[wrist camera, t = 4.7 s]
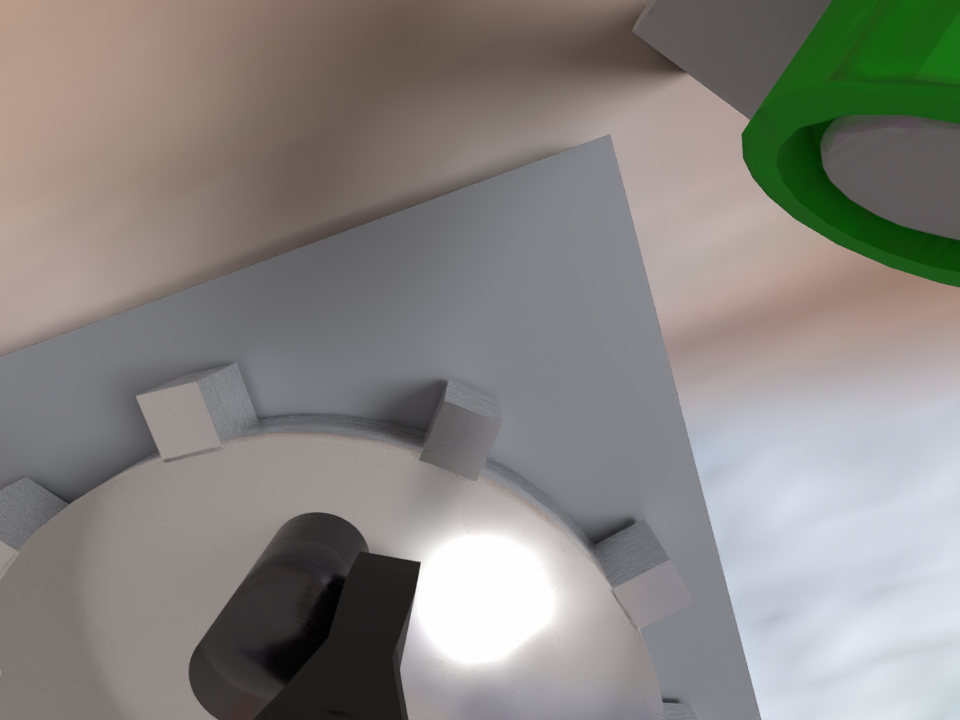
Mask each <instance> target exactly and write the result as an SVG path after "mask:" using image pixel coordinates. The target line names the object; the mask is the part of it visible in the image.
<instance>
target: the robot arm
mask: <svg viewBox="0 0 960 720" xmlns="http://www.w3.org/2000/svg"><path fill="white" fill-rule="evenodd" d="M420 565H421V562H418V561H412V560H407V559H401V558H396V557H390V556H384V555H379V554H373V553H367V552H362V551H360V552H359V554H358V556H357V557H356V559H355V561H354V563H353V565H352V566H351V568H350V570H349V572H348V574H347V576H346V579H345V583H344V586H343V589H342V593H341V596H340V599H339V603H338V606H337V609H336V613H335V616H334V619H333V623H332V626H331V629H330V633H329V636H328V638H327V639H326V640H325V642H324V643H323V644H322V645H321V646H320V648H319V649H318V650H317V651H316V652H315V653H314V654H313V655H312V657H311V658H310V659H309V660H308V661H307V662H306V663H305V664H304V666H303V667H302V668H301V669H300V670H299V671H298V672H297V673H296V675H295V676H294V677H293V678H292V679H291V680H290V681H289V682H288V684H287V685H286V686H285V687H284V688H283V689H282V690H281V691H280V692H279V693H278V694H277V695H276V696H275V697H274V699H273V700H272V701H271V702H270V703H269V704H268V705H267V706H266V707H265V708H264V709H263V710H262V711H261V712H260V713H259V714H258V715H257V716H256V717H255V718H254V719H253V720H409V719H408V714H407V708H406V703H405V697H404V692H403V686H402V680H401V673H400V667H401V662H402V657H403V652H404V647H405V642H406V637H407V632H408V627H409V622H410V617H411V612H412V607H413V602H414V597H415V592H416V587H417V582H418V576H419V571H420Z"/></svg>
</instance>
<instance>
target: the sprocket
mask: <svg viewBox="0 0 960 720" xmlns="http://www.w3.org/2000/svg"><path fill="white" fill-rule="evenodd" d="M136 398H137V401H138V403H139V405H140V408H141V410H142V412H143V415H144V417H145V420H146V422H147V424H148V427H149V429H150V431H151V434H152V436H153V438H154V441H155V443H156V445H157V448H158V451H156V452H155V453H153V454H151V455H149V456H147V457H146V458H144V459H142V460H140V461H139V462H137V463H135V464H133V465H132V466H130V467H128V468H126V469H125V470H123V471H122V472H120V473H118V474H117V475H115V476H114V477H112V478H110V479H109V480H107V481H106V482H104V483H102V484H101V485H99V486H98V487H96V488H94V489H93V490H91V491H89V492H88V493H86V494H85V495H83V496H81V497H80V498H78V499H77V500H75V501H73V502H72V503H71V504H68V503H66V502H65V501H63V500H62V499H60V498H59V497H57V496H56V495H54V494H52V493H51V492H49V491H48V490H46V489H45V488H43V487H42V486H40V485H39V484H37V483H36V482H34V481H32V480H31V479H29V478H28V477H25V478H23V479H21V480H19V481H17V482H15V483H13V484H11V485H9V486H7V487H5V488H3V489H1V490H0V720H253V719H254V718H255V717H256V716H257V715H258V714H259V713H260V712H261V711H262V710H263V709H264V708H265V707H266V706H267V705H268V704H269V703H270V702H271V701H272V700H273V699H274V697H275V696H276V695H277V694H278V693H279V692H280V691H281V690H282V689H283V688H284V687H285V686H286V685H287V684H288V682H289V681H290V680H291V679H292V678H293V677H294V676H295V675H296V673H297V672H298V671H299V670H300V669H301V668H302V667H303V666H304V664H305V663H306V662H307V661H308V660H309V659H310V658H311V657H312V655H313V654H314V653H315V652H316V651H317V650H318V649H319V648H320V646H321V645H322V644H323V643H324V642H325V640H326V639H327V638H328V636H329V633H330V629H331V626H332V623H333V619H334V616H335V613H336V609H337V606H338V603H339V599H340V596H341V593H342V589H343V586H344V583H345V579H346V576H347V574H348V572H349V570H350V568H351V566H352V565H353V563H354V561H355V559H356V557H357V556H358V554H359V552H360V551H362V552H367V553H373V554H379V555H384V556H390V557H396V558H401V559H407V560H412V561H418V562H421V565H420V571H419V576H418V582H417V587H416V592H415V597H414V602H413V607H412V612H411V617H410V622H409V627H408V632H407V637H406V642H405V647H404V652H403V657H402V662H401V667H400V673H401V680H402V686H403V692H404V697H405V703H406V708H407V714H408V719H409V720H698V719H697V717H696V714H695V712H694V710H693V708H692V706H691V704H678V703H663V702H662V697H661V692H660V687H659V682H658V677H657V673H656V671H655V668H654V665H653V663H652V660H651V657H650V655H649V652H648V649H647V647H646V644H645V641H644V639H643V636H642V634H641V632H640V629H641V628H643V627H645V626H647V625H649V624H651V623H653V622H655V621H657V620H659V619H661V618H663V617H665V616H667V615H669V614H671V613H673V612H675V611H677V610H679V609H681V608H683V607H685V606H687V605H689V604H691V603H693V602H695V601H694V600H693V598H692V596H691V594H690V593H689V591H688V589H687V588H686V586H685V584H684V582H683V581H682V579H681V577H680V576H679V574H678V572H677V571H676V569H675V567H674V565H673V564H672V562H671V560H670V559H669V557H668V556H667V554H666V552H665V551H664V549H663V548H662V546H661V545H660V543H659V541H658V540H657V538H656V537H655V535H654V533H653V532H652V530H651V529H650V527H649V526H648V524H647V522H646V521H645V519H643V520H641V521H639V522H637V523H635V524H633V525H632V526H630V527H628V528H626V529H624V530H622V531H620V532H618V533H616V534H614V535H613V536H611V537H609V538H607V539H605V540H603V541H601V542H599V543H597V544H595V545H594V543H593V542H592V541H591V540H590V538H589V537H588V536H587V534H586V533H585V532H584V531H583V529H582V528H581V527H580V525H579V524H577V523H576V522H575V521H574V520H573V519H572V518H571V517H570V516H569V515H568V514H567V513H566V512H565V511H564V510H563V509H562V508H561V507H560V506H559V505H558V504H557V503H556V502H555V501H554V500H553V499H552V498H551V497H549V496H548V495H547V494H545V493H544V492H543V491H541V490H540V489H538V488H537V487H536V486H534V485H533V484H532V483H530V482H529V481H528V480H526V479H525V478H524V477H522V476H521V475H519V474H518V473H517V472H515V471H513V470H512V469H510V468H508V467H506V466H504V465H503V464H501V463H499V462H497V461H495V460H493V459H492V458H490V457H488V455H489V452H490V450H491V448H492V446H493V444H494V441H495V439H496V437H497V435H498V433H499V430H500V428H501V426H502V424H503V422H502V415H501V409H500V403H499V399H498V398H495V397H493V396H490V395H488V394H485V393H483V392H480V391H478V390H475V389H473V388H470V387H468V386H465V385H463V384H460V383H458V382H455V381H453V380H450V379H448V382H447V384H446V387H445V389H444V391H443V394H442V396H441V399H440V401H439V403H438V406H437V408H436V410H435V413H434V415H433V418H432V420H431V422H430V425H429V427H428V430H427V431H423V430H419V429H415V428H412V427H408V426H404V425H400V424H396V423H393V422H388V421H381V420H373V419H366V418H358V417H351V416H344V415H290V416H281V417H272V418H263V419H257V416H256V414H255V411H254V408H253V406H252V403H251V400H250V397H249V395H248V392H247V389H246V387H245V384H244V381H243V378H242V376H241V373H240V370H239V367H238V365H237V363H234V364H229V365H225V366H221V367H217V368H213V369H208V370H204V371H200V372H196V373H191V374H187V375H184V376H181V377H179V378H177V379H174V380H172V381H170V382H167V383H165V384H163V385H160V386H158V387H156V388H153V389H151V390H149V391H146V392H144V393H142V394H139V395H137V396H136Z"/></svg>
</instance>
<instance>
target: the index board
mask: <svg viewBox="0 0 960 720" xmlns="http://www.w3.org/2000/svg"><path fill="white" fill-rule="evenodd" d="M234 363H237V365H238V367H239V370H240V373H241V376H242V378H243V381H244V384H245V387H246V389H247V392H248V395H249V397H250V400H251V403H252V406H253V408H254V411H255V414H256V416H257V419H263V418H272V417H281V416H290V415H344V416H351V417H358V418H366V419H373V420H381V421H388V422H393V423H396V424H400V425H404V426H408V427H412V428H415V429H419V430H423V431H427V430H428V427H429V425H430V422H431V420H432V418H433V415H434V413H435V410H436V408H437V406H438V403H439V401H440V399H441V396H442V394H443V391H444V389H445V387H446V384H447V382H448V379H450V380H453V381H455V382H458V383H460V384H463V385H465V386H468V387H470V388H473V389H475V390H478V391H480V392H483V393H485V394H488V395H490V396H493V397H495V398H498V399H499V403H500V409H501V415H502V422H503V424H502V426H501V428H500V430H499V433H498V435H497V437H496V439H495V441H494V444H493V446H492V448H491V450H490V452H489V455H488V457H490V458H492V459H493V460H495V461H497V462H499V463H501V464H503V465H504V466H506V467H508V468H510V469H512V470H513V471H515V472H517V473H518V474H519V475H521V476H522V477H524V478H525V479H526V480H528V481H529V482H530V483H532V484H533V485H534V486H536V487H537V488H538V489H540V490H541V491H543V492H544V493H545V494H547V495H548V496H549V497H551V498H552V499H553V500H554V501H555V502H556V503H557V504H558V505H559V506H560V507H561V508H562V509H563V510H564V511H565V512H566V513H567V514H568V515H569V516H570V517H571V518H572V519H573V520H574V521H575V522H576V523H577V524H579V525H580V527H581V528H582V529H583V531H584V532H585V533H586V534H587V536H588V537H589V538H590V540H591V541H592V542H593V543H594V545H595V544H597V543H599V542H601V541H603V540H605V539H607V538H609V537H611V536H613V535H614V534H616V533H618V532H620V531H622V530H624V529H626V528H628V527H630V526H632V525H633V524H635V523H637V522H639V521H641V520H643V519H645V521H646V522H647V524H648V526H649V527H650V529H651V530H652V532H653V533H654V535H655V537H656V538H657V540H658V541H659V543H660V545H661V546H662V548H663V549H664V551H665V552H666V554H667V556H668V557H669V559H670V560H671V562H672V564H673V565H674V567H675V569H676V571H677V572H678V574H679V576H680V577H681V579H682V581H683V582H684V584H685V586H686V588H687V589H688V591H689V593H690V594H691V596H692V598H693V600H694V601H695V602H693V603H691V604H689V605H687V606H685V607H683V608H681V609H679V610H677V611H675V612H673V613H671V614H669V615H667V616H665V617H663V618H661V619H659V620H657V621H655V622H653V623H651V624H649V625H647V626H645V627H643V628H641V629H640V632H641V634H642V636H643V639H644V641H645V644H646V647H647V649H648V652H649V655H650V657H651V660H652V663H653V665H654V668H655V671H656V673H657V677H658V682H659V687H660V692H661V697H662V702H663V703H678V704H691V706H692V708H693V710H694V712H695V714H696V717H697V719H698V720H761V717H760V713H759V709H758V705H757V701H756V697H755V693H754V689H753V686H752V682H751V678H750V674H749V670H748V666H747V662H746V658H745V655H744V651H743V647H742V643H741V639H740V635H739V631H738V627H737V624H736V620H735V616H734V612H733V608H732V604H731V600H730V596H729V593H728V589H727V585H726V581H725V577H724V573H723V569H722V565H721V562H720V558H719V554H718V550H717V546H716V542H715V538H714V534H713V531H712V527H711V523H710V519H709V515H708V511H707V507H706V503H705V500H704V496H703V492H702V488H701V484H700V480H699V476H698V472H697V469H696V465H695V461H694V457H693V453H692V449H691V445H690V442H689V438H688V434H687V430H686V426H685V422H684V418H683V414H682V411H681V407H680V403H679V399H678V395H677V391H676V387H675V383H674V380H673V376H672V372H671V368H670V364H669V360H668V356H667V352H666V349H665V345H664V341H663V337H662V333H661V329H660V325H659V321H658V318H657V314H656V310H655V306H654V302H653V298H652V294H651V290H650V287H649V283H648V279H647V275H646V271H645V267H644V263H643V259H642V256H641V252H640V248H639V244H638V240H637V236H636V232H635V228H634V225H633V221H632V217H631V213H630V209H629V205H628V201H627V197H626V194H625V190H624V186H623V182H622V178H621V174H620V170H619V166H618V163H617V159H616V155H615V151H614V147H613V143H612V139H611V135H607V136H604V137H601V138H599V139H596V140H593V141H590V142H588V143H585V144H582V145H579V146H577V147H574V148H571V149H568V150H566V151H563V152H560V153H557V154H555V155H552V156H549V157H546V158H544V159H541V160H538V161H536V162H533V163H530V164H527V165H525V166H522V167H519V168H516V169H514V170H511V171H508V172H505V173H503V174H500V175H497V176H494V177H492V178H489V179H486V180H483V181H481V182H478V183H475V184H472V185H470V186H467V187H464V188H462V189H459V190H456V191H453V192H451V193H448V194H445V195H442V196H440V197H437V198H434V199H431V200H429V201H426V202H423V203H420V204H418V205H415V206H412V207H409V208H407V209H404V210H401V211H399V212H396V213H393V214H390V215H388V216H385V217H382V218H379V219H377V220H374V221H371V222H368V223H366V224H363V225H360V226H357V227H355V228H352V229H349V230H346V231H344V232H341V233H338V234H335V235H333V236H330V237H327V238H325V239H322V240H319V241H316V242H314V243H311V244H308V245H305V246H303V247H300V248H297V249H294V250H292V251H289V252H286V253H283V254H281V255H278V256H275V257H272V258H270V259H267V260H264V261H261V262H259V263H256V264H253V265H251V266H248V267H245V268H242V269H240V270H237V271H234V272H231V273H229V274H226V275H223V276H220V277H218V278H215V279H212V280H209V281H207V282H204V283H201V284H198V285H196V286H193V287H190V288H187V289H185V290H182V291H179V292H177V293H174V294H171V295H168V296H166V297H163V298H160V299H157V300H155V301H152V302H149V303H146V304H144V305H141V306H138V307H135V308H133V309H130V310H127V311H124V312H122V313H119V314H116V315H114V316H111V317H108V318H105V319H103V320H100V321H97V322H94V323H92V324H89V325H86V326H83V327H81V328H78V329H75V330H72V331H70V332H67V333H64V334H61V335H59V336H56V337H53V338H50V339H48V340H45V341H42V342H40V343H37V344H34V345H31V346H29V347H26V348H23V349H20V350H18V351H15V352H12V353H9V354H7V355H4V356H1V357H0V490H1V489H3V488H5V487H7V486H9V485H11V484H13V483H15V482H17V481H19V480H21V479H23V478H25V477H28V478H29V479H31V480H32V481H34V482H36V483H37V484H39V485H40V486H42V487H43V488H45V489H46V490H48V491H49V492H51V493H52V494H54V495H56V496H57V497H59V498H60V499H62V500H63V501H65V502H66V503H68V504H71V503H72V502H73V501H75V500H77V499H78V498H80V497H81V496H83V495H85V494H86V493H88V492H89V491H91V490H93V489H94V488H96V487H98V486H99V485H101V484H102V483H104V482H106V481H107V480H109V479H110V478H112V477H114V476H115V475H117V474H118V473H120V472H122V471H123V470H125V469H126V468H128V467H130V466H132V465H133V464H135V463H137V462H139V461H140V460H142V459H144V458H146V457H147V456H149V455H151V454H153V453H155V452H156V451H158V448H157V445H156V443H155V441H154V438H153V436H152V434H151V431H150V429H149V427H148V424H147V422H146V420H145V417H144V415H143V412H142V410H141V408H140V405H139V403H138V401H137V398H136V396H137V395H139V394H142V393H144V392H146V391H149V390H151V389H153V388H156V387H158V386H160V385H163V384H165V383H167V382H170V381H172V380H174V379H177V378H179V377H181V376H184V375H187V374H191V373H196V372H200V371H204V370H208V369H213V368H217V367H221V366H225V365H229V364H234Z"/></svg>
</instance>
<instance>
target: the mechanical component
mask: <svg viewBox="0 0 960 720" xmlns="http://www.w3.org/2000/svg"><path fill="white" fill-rule="evenodd" d="M632 32H633V33H634V34H636V35H637V36H638V37H640V38H641V39H642V40H644V41H645V42H646V43H648V44H649V45H650V46H652V47H653V48H654V49H656V50H657V51H658V52H660V53H661V54H663V55H664V56H665V57H667V58H668V59H669V60H671V61H672V62H673V63H675V64H676V65H677V66H679V67H680V68H681V69H683V70H684V71H685V72H687V73H688V74H689V75H691V76H692V77H693V78H695V79H696V80H697V81H699V82H700V83H701V84H703V85H704V86H705V87H707V88H708V89H709V90H711V91H712V92H714V93H715V94H716V95H718V96H719V97H720V98H722V99H723V100H724V101H726V102H727V103H728V104H730V105H731V106H732V107H734V108H735V109H736V110H738V111H739V112H740V113H742V114H743V115H744V116H746V117H747V118H748V119H750V120H751V121H750V122H749V124H748V125H747V127H746V128H745V130H744V131H743V133H742V147H743V159H744V161H745V163H746V165H747V167H748V169H749V171H750V173H751V175H752V177H753V179H754V180H755V181H756V182H757V183H758V185H759V186H760V187H761V188H762V189H763V191H764V192H765V193H766V194H767V195H768V197H770V198H771V199H772V200H773V201H774V202H776V203H777V204H778V205H779V206H780V207H782V208H783V209H784V210H785V211H786V212H787V213H789V214H790V215H791V216H792V217H793V218H795V219H796V220H798V221H799V222H801V223H803V224H804V225H806V226H808V227H809V228H811V229H813V230H814V231H816V232H818V233H819V234H821V235H823V236H824V237H826V238H828V239H829V240H831V241H833V242H834V243H836V244H838V245H840V246H842V247H845V248H847V249H849V250H852V251H854V252H856V253H859V254H861V255H863V256H865V257H868V258H870V259H872V260H875V261H877V262H879V263H881V264H884V265H886V266H888V267H891V268H894V269H897V270H901V271H904V272H907V273H910V274H913V275H916V276H920V277H923V278H926V279H929V280H932V281H935V282H939V283H942V284H947V285H951V286H956V287H960V0H648V2H647V3H646V5H645V7H644V9H643V10H642V12H641V14H640V16H639V18H638V20H637V21H636V23H635V25H634V27H633V30H632Z"/></svg>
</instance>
